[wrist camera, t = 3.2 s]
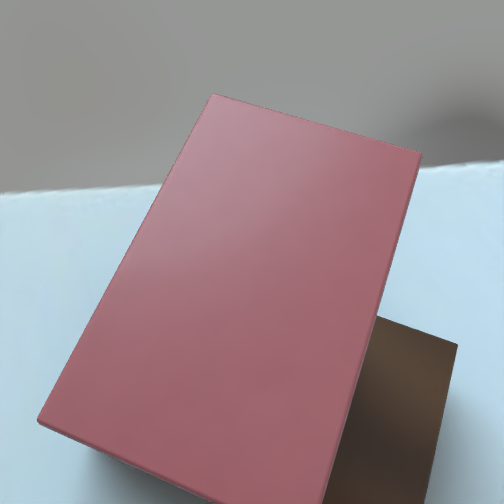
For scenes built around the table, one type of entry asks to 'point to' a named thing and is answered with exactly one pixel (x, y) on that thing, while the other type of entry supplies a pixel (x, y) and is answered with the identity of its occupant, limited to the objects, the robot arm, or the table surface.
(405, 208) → the packet
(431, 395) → the shelf
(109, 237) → the table surface
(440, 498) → the table surface
